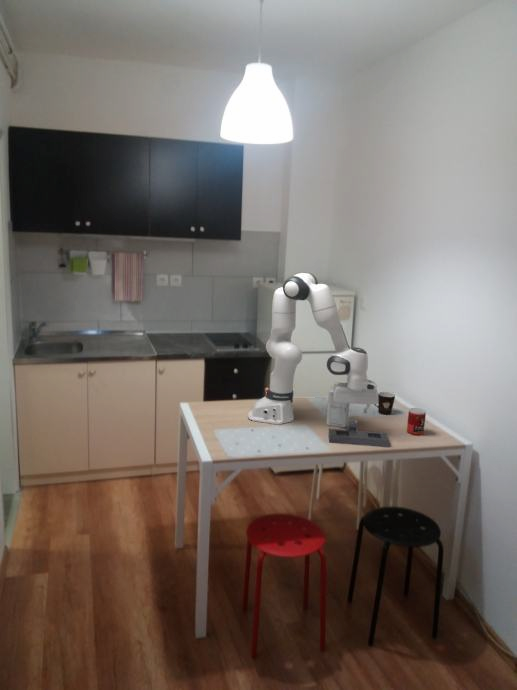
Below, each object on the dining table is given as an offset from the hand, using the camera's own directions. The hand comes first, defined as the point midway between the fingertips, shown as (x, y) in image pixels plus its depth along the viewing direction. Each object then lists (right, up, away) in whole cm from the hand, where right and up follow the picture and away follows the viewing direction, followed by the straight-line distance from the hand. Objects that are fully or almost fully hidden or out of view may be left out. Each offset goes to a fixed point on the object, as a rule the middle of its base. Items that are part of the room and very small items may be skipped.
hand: (354, 412), depth 262 cm
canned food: (+29, -11, +7) cm, 32 cm away
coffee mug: (+20, -4, +33) cm, 39 cm away
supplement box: (-6, -7, +15) cm, 17 cm away
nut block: (-1, -10, +2) cm, 10 cm away
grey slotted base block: (0, -12, -6) cm, 14 cm away
